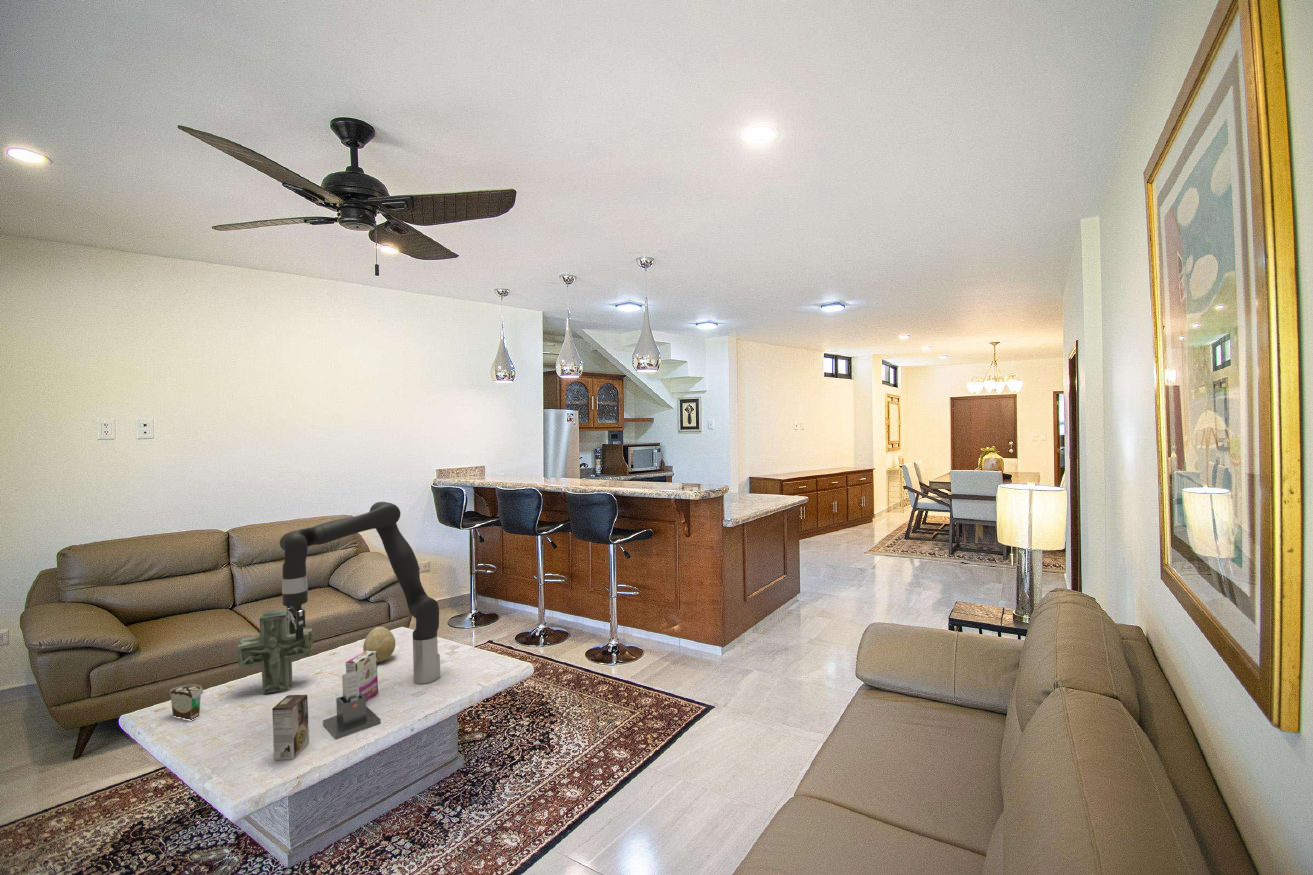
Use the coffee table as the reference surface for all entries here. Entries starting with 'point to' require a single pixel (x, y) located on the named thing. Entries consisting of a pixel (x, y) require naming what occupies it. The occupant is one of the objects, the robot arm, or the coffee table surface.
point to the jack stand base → (351, 717)
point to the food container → (186, 701)
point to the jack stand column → (350, 686)
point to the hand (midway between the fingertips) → (296, 636)
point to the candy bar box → (365, 672)
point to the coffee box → (290, 727)
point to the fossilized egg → (380, 643)
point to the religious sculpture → (274, 651)
